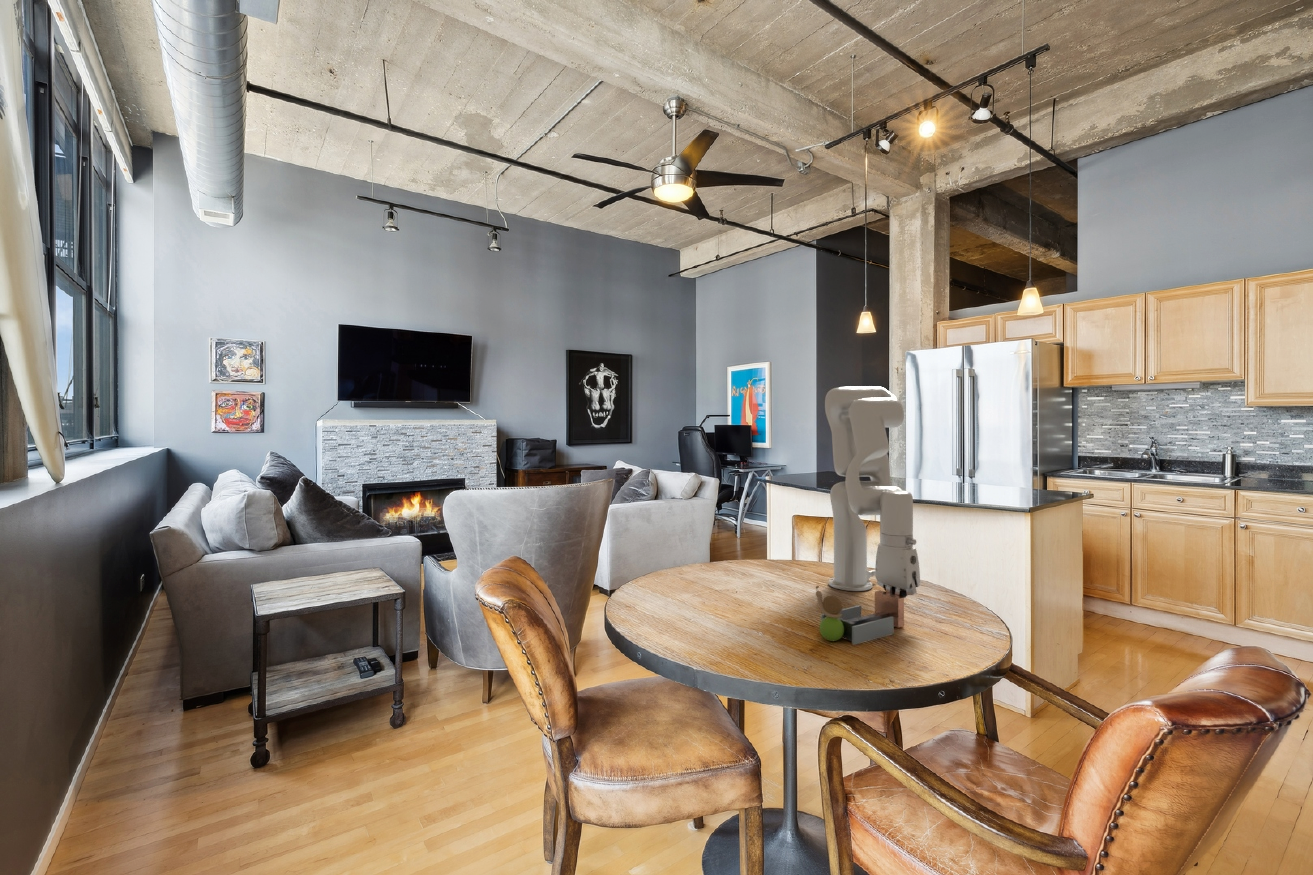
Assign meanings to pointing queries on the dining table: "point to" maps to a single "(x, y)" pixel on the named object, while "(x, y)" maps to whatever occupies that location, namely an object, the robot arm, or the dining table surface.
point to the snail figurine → (830, 617)
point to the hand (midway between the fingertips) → (896, 613)
